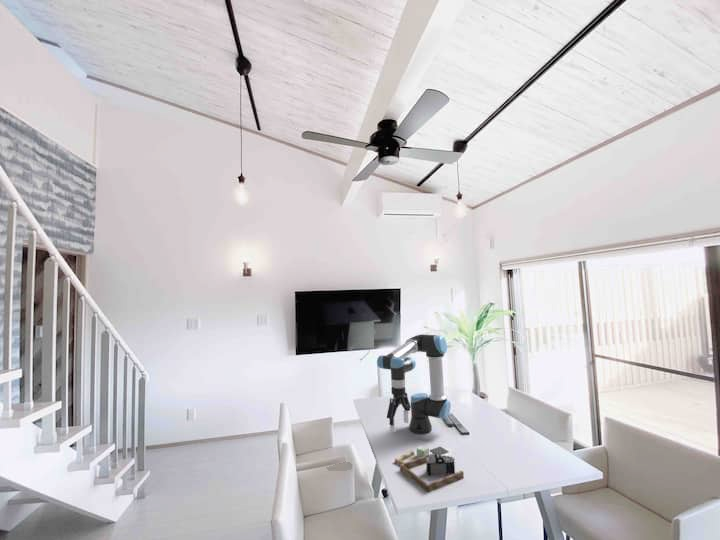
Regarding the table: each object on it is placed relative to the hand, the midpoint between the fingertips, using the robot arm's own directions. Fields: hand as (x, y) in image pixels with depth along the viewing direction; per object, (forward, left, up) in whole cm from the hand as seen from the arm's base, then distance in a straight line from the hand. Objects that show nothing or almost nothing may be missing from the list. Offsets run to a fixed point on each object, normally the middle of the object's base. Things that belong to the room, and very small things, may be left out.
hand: (399, 426), depth 179 cm
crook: (-8, -6, -22) cm, 25 cm away
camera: (-16, +13, -23) cm, 30 cm away
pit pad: (-30, -4, -22) cm, 38 cm away
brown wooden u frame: (-11, +12, -22) cm, 27 cm away
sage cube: (-18, -4, -22) cm, 29 cm away
